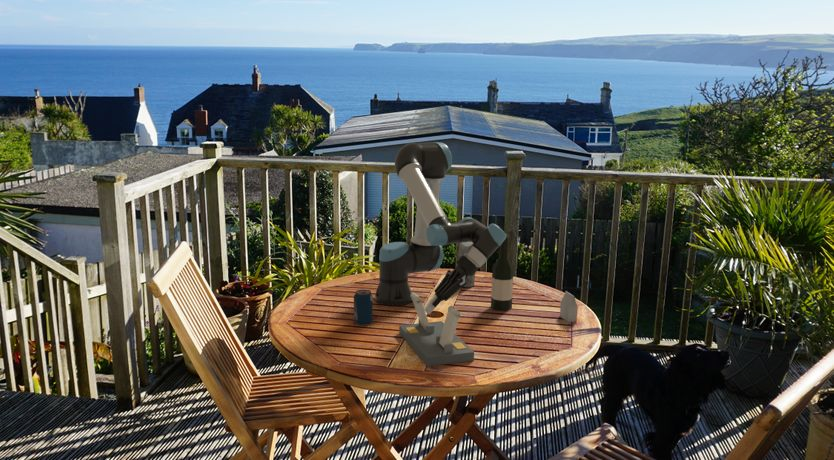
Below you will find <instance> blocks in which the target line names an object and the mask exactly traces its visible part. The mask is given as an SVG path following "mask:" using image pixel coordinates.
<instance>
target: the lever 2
mask: <svg viewBox="0 0 834 460" xmlns="http://www.w3.org/2000/svg"><path fill="white" fill-rule="evenodd" d="M460 317H461V312H460V311H459V310H458V309H456V308H455V307H454V306H453V305H450V306H448V308H447V313H446V317H445V320H444V322H443V323H444V327H443V330H442V334H441V337H440V341H439V343H440V344H441V345H442V346H443V348H444V345H446V344H452V341H453V337H454V334H456V330H457V326H458V323H459V319H460Z"/></svg>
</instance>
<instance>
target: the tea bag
mask: <svg viewBox="0 0 834 460" xmlns="http://www.w3.org/2000/svg"><path fill="white" fill-rule="evenodd" d="M559 306H560V307H559V309H560V311H559V317H560V318H561V319H562V320H564V321H565V322H567V323H572V322H573V323H575V322H574V321H576V322H577V321H578V308H579V307H578V304H577V301H576V297H575V295H573V294H571V293H570V292H568V291H567V290H565V291H564V295H563V297H562V299H561V300H560V305H559Z"/></svg>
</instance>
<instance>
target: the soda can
mask: <svg viewBox="0 0 834 460" xmlns="http://www.w3.org/2000/svg"><path fill="white" fill-rule="evenodd" d="M373 298H374V296H373V294H372V291H371V290H369V289H358V290H356V291H355V294H354V295H353V321H354V323H355V324H356V325H358V326H368V325H371V323H372V322H373V320H374V319H373V318H374V317H373V316H374V314H373V313H374V311H373V310H374V305H373V303H374V302H373V300H374V299H373Z"/></svg>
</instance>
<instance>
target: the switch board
mask: <svg viewBox="0 0 834 460" xmlns="http://www.w3.org/2000/svg"><path fill="white" fill-rule="evenodd" d="M428 322H429V325H428V326H426V330H425V329H424V328H423V327H422V326H421V323H420V320H419V319H418V323H409V324H400V325H399V327H398V329H399V331H398V332H399V333H400V334H399V333H398V334H399V335H400V336H401V337H402V338H403V340H404V339H405V340H404V341H405V342H406V343H407V344H408V346H409V347H410V348H411V349H412V351H414V353H415V354H416V355H417V356H418V357H419V359H420V360H421V361H422V363H423V364H424V365H425V364H426V365H427V366H426V365H425V366H426V367H432V366H431V365H435V366H443V365H450V364H457V363H458V364H459V363H466V362H474V361H475V360H474V359H475V351H474V350H473V349H471V348H470V347H469V345H467V343H465V342H464V341H463V340H462V339H461V338H460V337H459V336H458V335H457V334H456V333H455V334H454V337H453V341H452V344H446V345H444V348H443V346H442V345H441V344H440V343H439V341H440V337H441V334H442V330H443V327H444V323H445V322H444V321H442V320H439V321H431V322H430V321H428Z"/></svg>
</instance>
